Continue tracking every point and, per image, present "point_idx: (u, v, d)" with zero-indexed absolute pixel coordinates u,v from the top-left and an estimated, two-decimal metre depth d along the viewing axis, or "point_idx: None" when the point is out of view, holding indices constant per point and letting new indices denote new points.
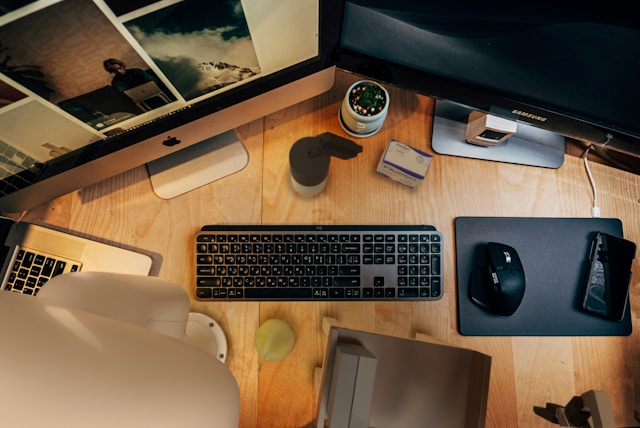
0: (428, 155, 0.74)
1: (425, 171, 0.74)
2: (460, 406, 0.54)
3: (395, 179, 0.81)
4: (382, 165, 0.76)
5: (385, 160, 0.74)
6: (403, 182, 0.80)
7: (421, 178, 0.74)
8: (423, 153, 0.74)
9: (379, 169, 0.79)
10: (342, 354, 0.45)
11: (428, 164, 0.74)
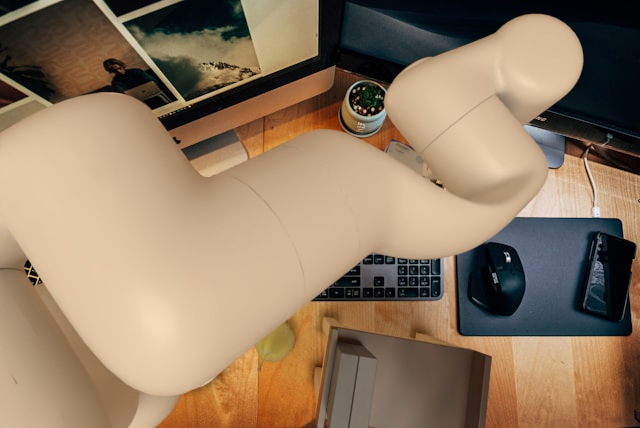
0: None
1: None
2: (460, 406, 0.54)
3: None
4: None
5: None
6: None
7: None
8: None
9: None
10: (342, 354, 0.45)
11: None
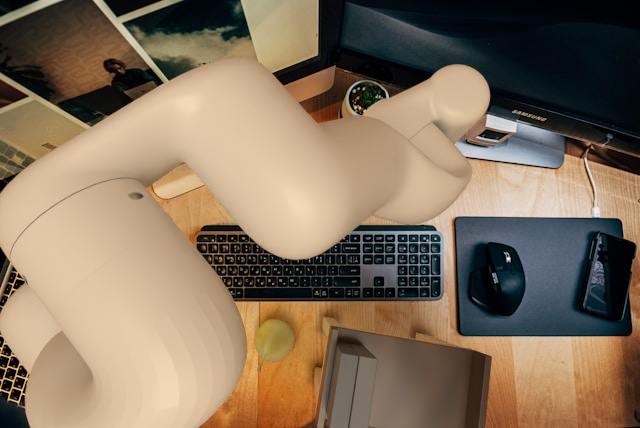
0: None
1: None
2: (460, 406, 0.54)
3: None
4: None
5: None
6: None
7: None
8: None
9: None
10: (342, 354, 0.45)
11: None
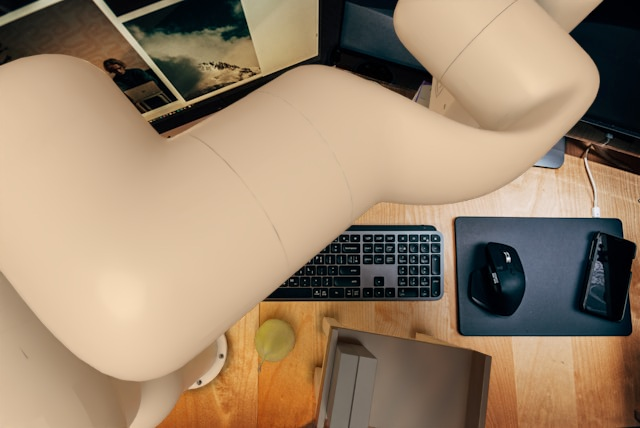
0: None
1: None
2: (460, 406, 0.54)
3: None
4: None
5: None
6: None
7: None
8: None
9: None
10: (342, 354, 0.45)
11: None
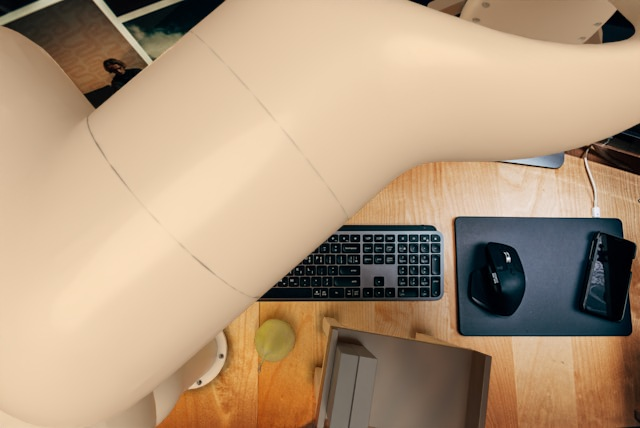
0: None
1: None
2: (460, 406, 0.54)
3: None
4: None
5: None
6: None
7: None
8: None
9: None
10: (342, 354, 0.45)
11: None
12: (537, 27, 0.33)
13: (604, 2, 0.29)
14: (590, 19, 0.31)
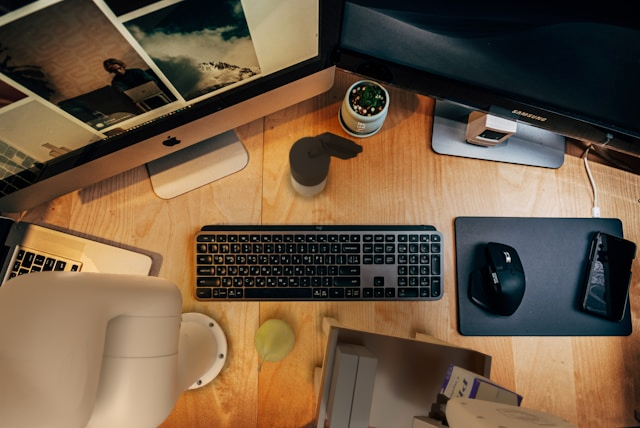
0: None
1: None
2: None
3: None
4: (467, 378, 0.42)
5: (479, 383, 0.40)
6: None
7: None
8: None
9: (457, 371, 0.45)
10: (342, 354, 0.45)
11: None
12: None
13: None
14: None
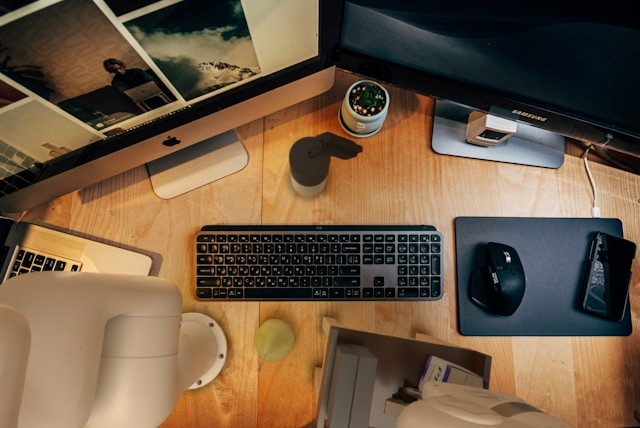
0: None
1: None
2: None
3: (420, 386, 0.53)
4: (441, 365, 0.49)
5: (450, 369, 0.47)
6: None
7: None
8: None
9: (434, 360, 0.52)
10: (342, 354, 0.45)
11: None
12: None
13: None
14: None
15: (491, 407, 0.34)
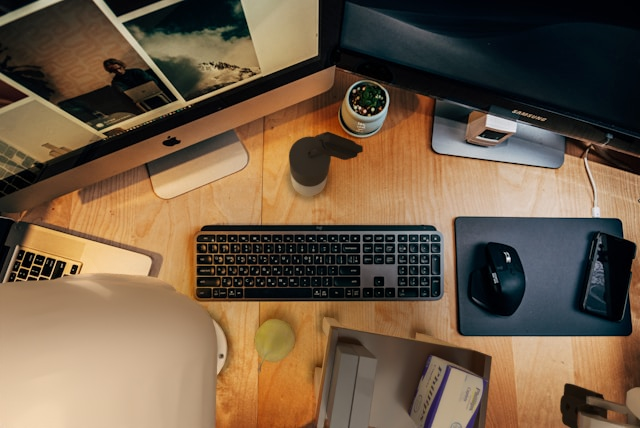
0: None
1: None
2: None
3: (420, 386, 0.53)
4: (441, 365, 0.49)
5: (450, 369, 0.47)
6: (416, 399, 0.52)
7: None
8: None
9: (434, 360, 0.52)
10: (342, 354, 0.45)
11: None
12: None
13: None
14: None
15: None
